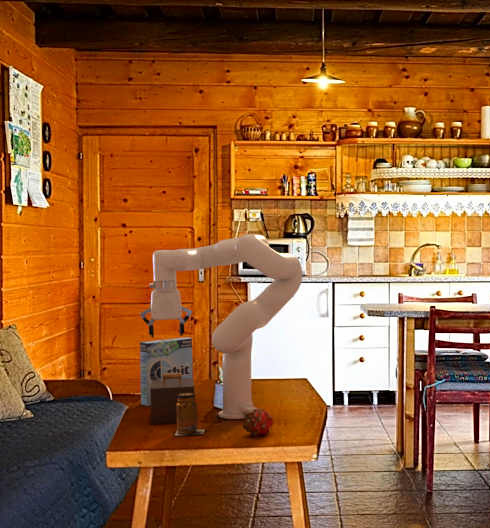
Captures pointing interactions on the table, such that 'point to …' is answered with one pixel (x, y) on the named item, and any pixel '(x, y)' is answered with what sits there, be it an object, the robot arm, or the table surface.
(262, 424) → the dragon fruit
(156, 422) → the chest
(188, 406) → the condiment
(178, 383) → the dark brown upright block
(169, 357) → the gum box
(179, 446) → the table surface
